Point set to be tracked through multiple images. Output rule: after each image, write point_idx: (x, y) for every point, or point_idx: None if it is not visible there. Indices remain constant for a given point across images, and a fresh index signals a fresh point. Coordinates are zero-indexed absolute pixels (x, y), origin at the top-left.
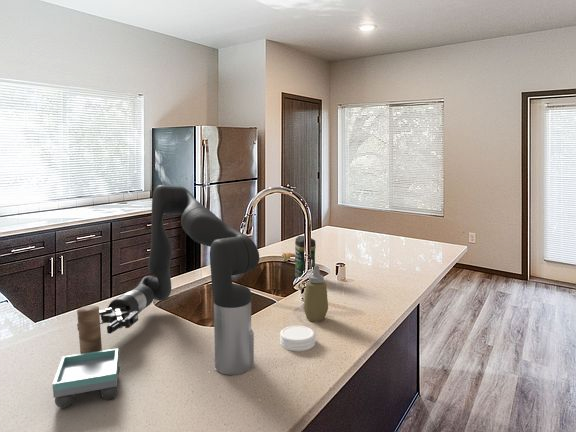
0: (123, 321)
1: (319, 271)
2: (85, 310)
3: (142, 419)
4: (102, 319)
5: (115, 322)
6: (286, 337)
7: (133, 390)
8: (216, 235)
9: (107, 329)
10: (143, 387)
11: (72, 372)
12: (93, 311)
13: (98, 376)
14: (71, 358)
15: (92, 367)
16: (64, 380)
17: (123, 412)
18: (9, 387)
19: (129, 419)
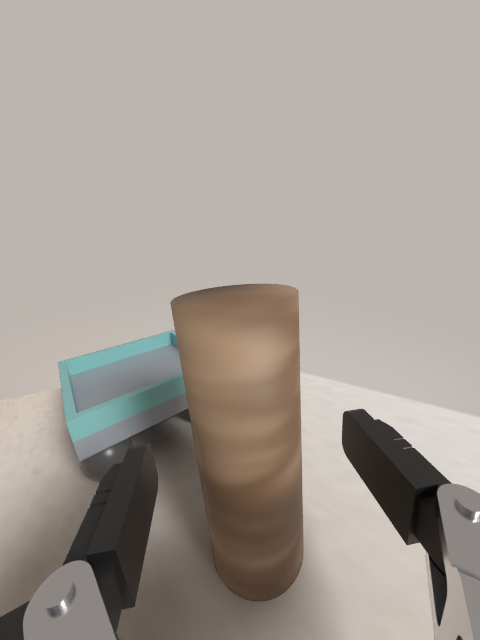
0: (13, 612)
1: None
2: (234, 290)
3: (21, 404)
4: None
5: (103, 517)
6: None
7: (37, 452)
8: None
9: (151, 458)
10: (4, 469)
11: (175, 364)
12: (180, 296)
13: (97, 351)
14: None
15: (138, 382)
16: (174, 352)
17: (59, 404)
18: (323, 382)
19: (47, 399)
